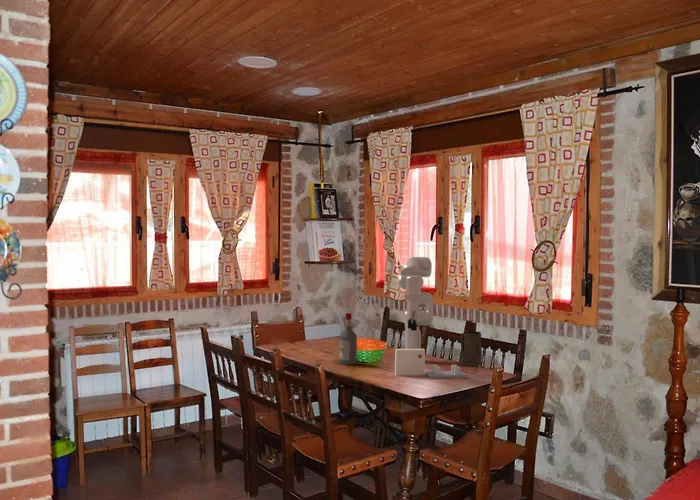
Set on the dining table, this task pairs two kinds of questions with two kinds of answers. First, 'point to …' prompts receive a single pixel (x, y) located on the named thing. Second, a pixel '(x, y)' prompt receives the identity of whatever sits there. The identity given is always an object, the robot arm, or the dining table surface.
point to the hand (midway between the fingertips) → (412, 329)
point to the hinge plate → (446, 372)
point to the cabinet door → (409, 362)
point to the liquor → (348, 344)
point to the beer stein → (471, 348)
